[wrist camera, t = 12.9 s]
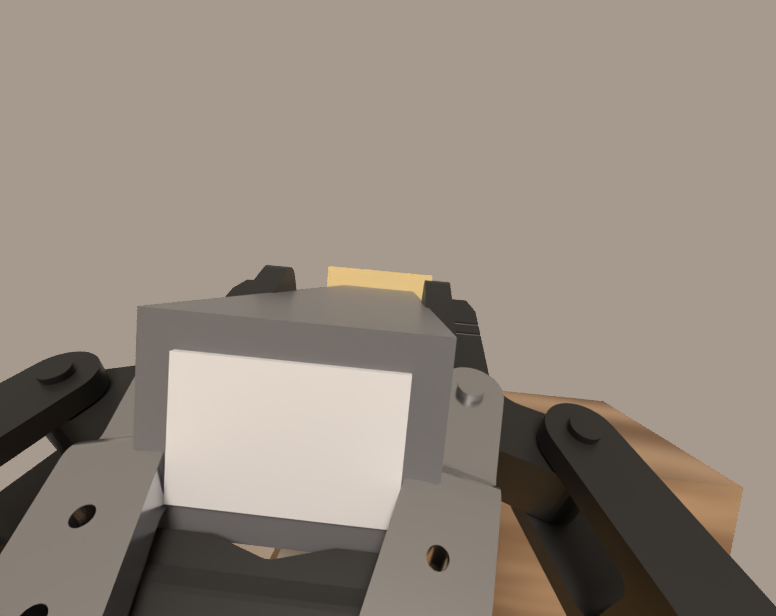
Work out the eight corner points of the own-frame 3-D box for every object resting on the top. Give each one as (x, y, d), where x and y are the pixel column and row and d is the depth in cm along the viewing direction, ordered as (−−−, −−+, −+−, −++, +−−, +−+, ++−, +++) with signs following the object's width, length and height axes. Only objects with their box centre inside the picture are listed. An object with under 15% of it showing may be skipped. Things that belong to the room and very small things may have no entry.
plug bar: (341, 321, 27) (345, 269, 26) (419, 329, 26) (425, 276, 26) (49, 526, 5) (54, 217, 4) (511, 582, 4) (554, 262, 4)
